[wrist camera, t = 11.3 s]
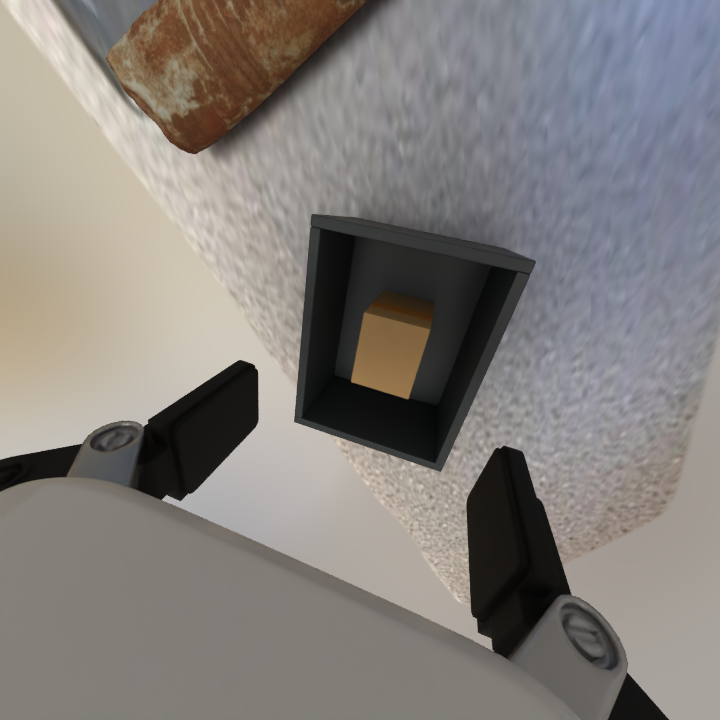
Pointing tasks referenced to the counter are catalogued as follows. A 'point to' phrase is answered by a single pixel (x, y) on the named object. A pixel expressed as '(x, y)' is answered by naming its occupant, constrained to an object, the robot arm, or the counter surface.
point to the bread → (217, 59)
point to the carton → (392, 343)
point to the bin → (445, 341)
